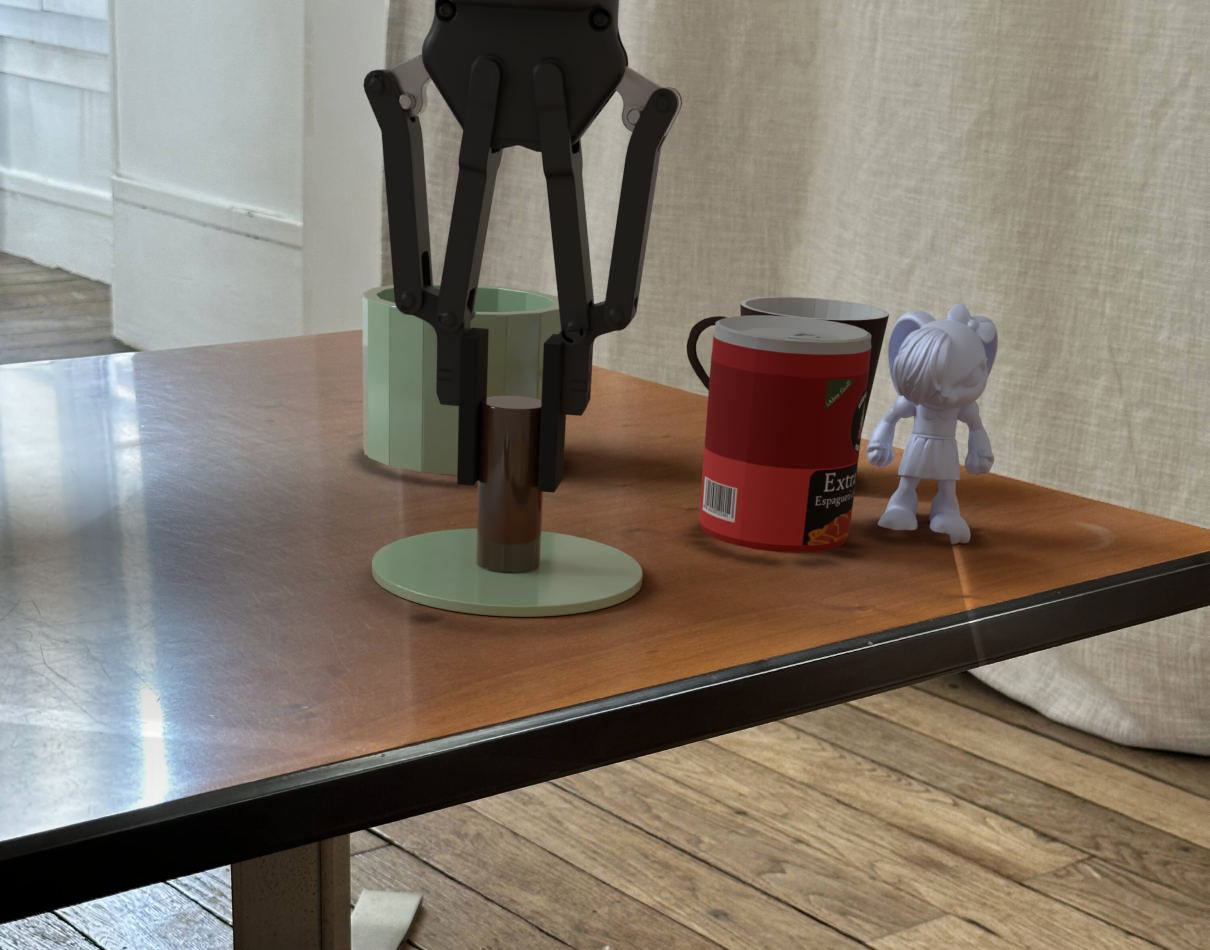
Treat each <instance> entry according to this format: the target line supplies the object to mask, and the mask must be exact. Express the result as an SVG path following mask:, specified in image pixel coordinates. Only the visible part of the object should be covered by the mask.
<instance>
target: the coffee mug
mask: <svg viewBox="0 0 1210 950" xmlns="http://www.w3.org/2000/svg"><path fill="white" fill-rule="evenodd" d="M739 303H740V304H739V305H740V316H752V315H767V316H789V317H801V318H811V319H819V320H826V321H832V322H838V323H843V324H848V325H852V326H855V327H858V328H861V329H863V330H865V331H867V332H869V333H870V334H871V355H870V365H869V376H868V384H867V393H866V401H865V409H864V417H863V426H862V431H863V429H864V426H865V421H866V416H867V411H868V408H869V404H870V399H871V395H872V391H873V386H874V383H875V377H876V373H877V370H878V364H879V360H880V356H881V351H882V348H883V344H884V338H885V335H886V330H887V326H888V322H889V318H890V312H889V311H887V310H886V309H884V308H881V307H878V306H874V305H870V304H866V303H860V302H856V301H855V302H853V301H848V300H847V301H846V300H839V299H830V298H821V297H820V298H819V297H804V296H761V297H752V298H751V297H750V298H746V299H742V300H741V301H740V302H739ZM724 318H728V316H724V315H723V316H722V315H714V316H709V317H706V318H703V319H700V320H699V321H698V322H696V323H695V324H694V325H693V326H692V328H691V329H690V331H689V335H688V338H687V341H686V355H687V360H688V361H689V364H690V366H691V368H692V370H693V371H694V373H695V375H696V376H697V377H698V380H699V381H700V382H701V383H702V385H703V386H704V387H705V389H706V390H707V391H708V392H709V380H710V375H708V374H707V371H706V369H704V367H703V365H702V364H701V362H700V358H699V357H698V354H697V345H698V344H697V343H698V340H699V337H700V335H701V334H702V333H703V332H704V331H705V330H706V329H708V328H709V327H712V326H715V324H716V322H717V321H719V320H721V319H724Z"/></svg>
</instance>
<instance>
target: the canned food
mask: <svg viewBox="0 0 1210 950" xmlns="http://www.w3.org/2000/svg"><path fill="white" fill-rule="evenodd" d="M714 326H715V327H714V331H713V334H712V345H711V346H712V347H711V348H712V349H711V355H710V368H709V378H710V380H709V391H708V392H707V393H708V395H707V406H706V407H707V408H706V422H705V432H704V433H705V435H704V447H703V460H702V461H703V462H702V475H701V489H700V501H699V513H698V514H699V515H698V522H699V526H700V529H701V530H702V532H703V533H705V534H706V535H707V536H708V537H711V538H713V539H716V540H717V541H721V542H723V543H727V544H730V545H734V546H738V547H743V548H748V549H752V550H753V549H754V550H760V551H768V552H781V553H811V552H812V553H813V552H823V551H827V550H832V549H836V548H839V547H841V546H842V545H844V544H845V543H846V541H847V540H848V537H849V535H850V531H851V523H852V516H853V508H854V498H855V490H856V484H857V483H856V481H857V474H858V467H859V466H858V465H859V457H860V449H861V441H862V440H861V439H862V434H863V430H862V426H863V427H864V425H863V417H864V409H865V401H866V393H867V384H868V376H869V365H870V355H871V334H870V333H869V332H867V331H865V330H863V329H861V328H858V327H855V326H852V325H848V324H843V323H838V322H832V321H826V320H819V319H811V318H801V317H789V316H767V315H752V316H741V315H736V316H730V317H728V316H727V318H724V319H721V320H719V321H717V322H716V324H715V325H714Z"/></svg>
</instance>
